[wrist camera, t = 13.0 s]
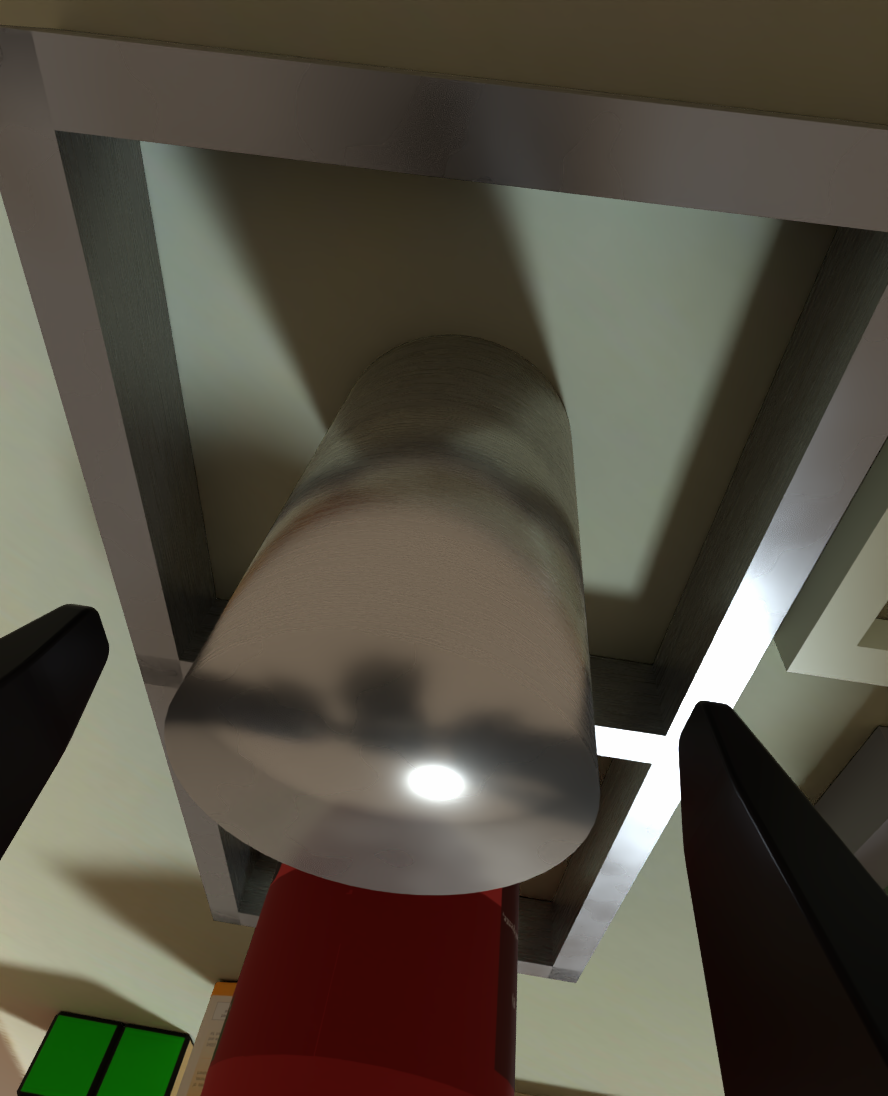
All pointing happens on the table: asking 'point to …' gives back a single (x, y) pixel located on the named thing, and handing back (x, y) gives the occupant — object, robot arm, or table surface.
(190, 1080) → the supplement box
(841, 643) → the white square frame
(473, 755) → the cylinder
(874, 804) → the button housing
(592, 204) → the table surface
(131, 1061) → the puzzle cube
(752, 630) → the grey divided tray
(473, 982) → the canned food
